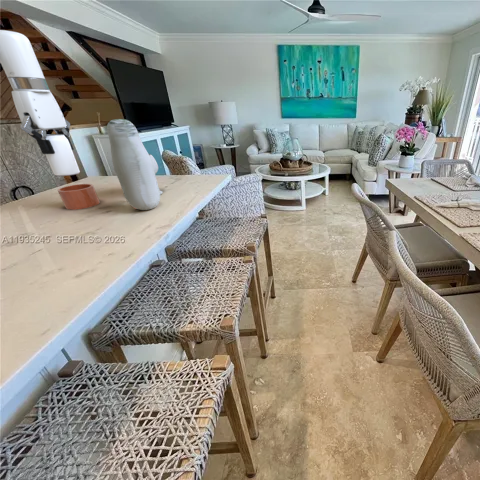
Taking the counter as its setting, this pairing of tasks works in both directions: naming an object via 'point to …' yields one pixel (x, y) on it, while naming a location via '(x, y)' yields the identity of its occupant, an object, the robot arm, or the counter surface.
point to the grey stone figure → (133, 165)
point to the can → (61, 156)
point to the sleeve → (79, 196)
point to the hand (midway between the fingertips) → (58, 151)
